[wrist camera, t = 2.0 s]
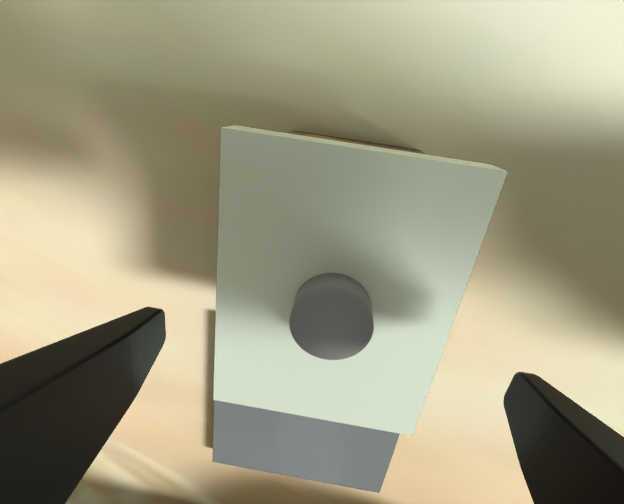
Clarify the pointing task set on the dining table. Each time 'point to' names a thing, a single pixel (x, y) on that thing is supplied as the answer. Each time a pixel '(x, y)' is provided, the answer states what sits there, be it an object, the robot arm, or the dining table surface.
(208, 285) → the dining table surface
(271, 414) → the coaster
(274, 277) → the lid
